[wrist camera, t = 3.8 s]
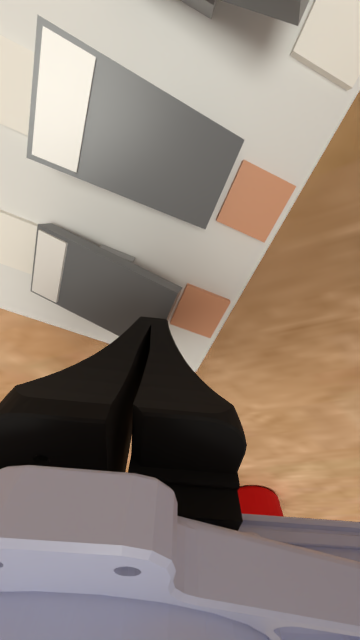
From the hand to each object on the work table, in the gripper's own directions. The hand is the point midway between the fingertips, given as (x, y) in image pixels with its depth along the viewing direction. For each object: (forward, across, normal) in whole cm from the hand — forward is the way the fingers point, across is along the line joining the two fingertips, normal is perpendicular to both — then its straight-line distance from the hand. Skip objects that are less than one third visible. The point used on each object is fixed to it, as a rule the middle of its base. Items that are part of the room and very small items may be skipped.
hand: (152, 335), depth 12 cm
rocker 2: (+3, +3, -1) cm, 4 cm away
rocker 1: (+3, +1, -8) cm, 8 cm away
